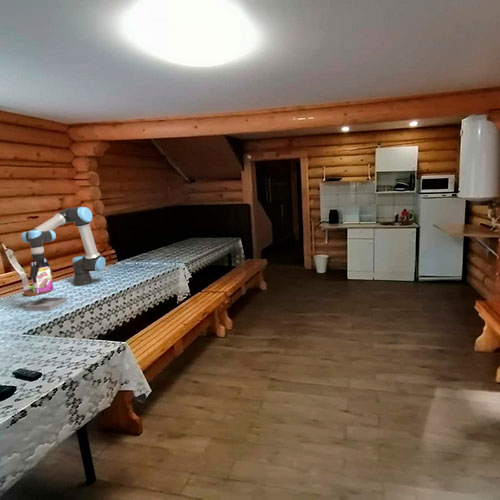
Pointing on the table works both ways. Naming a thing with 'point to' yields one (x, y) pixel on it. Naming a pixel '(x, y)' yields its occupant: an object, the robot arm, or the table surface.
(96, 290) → the table surface
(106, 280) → the table surface
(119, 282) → the table surface
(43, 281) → the candy bar box
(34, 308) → the holder
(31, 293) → the plant
